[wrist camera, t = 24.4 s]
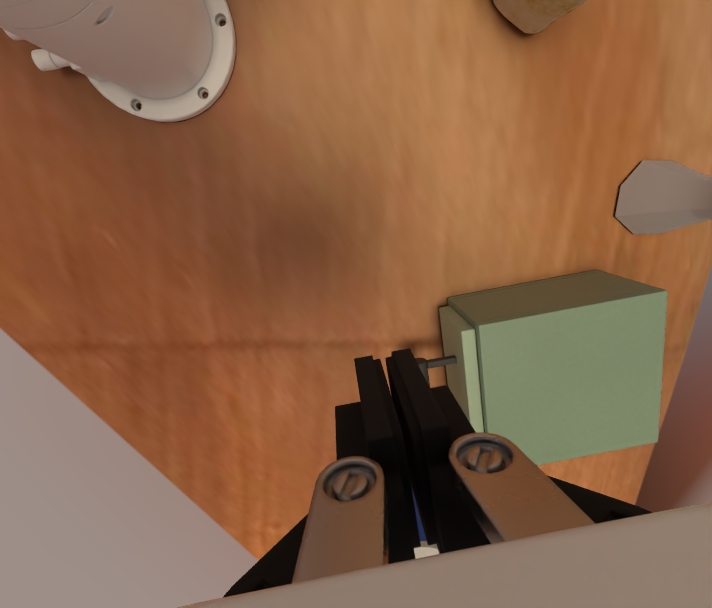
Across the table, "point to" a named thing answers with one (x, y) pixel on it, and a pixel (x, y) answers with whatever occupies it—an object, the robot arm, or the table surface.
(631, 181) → the flask
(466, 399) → the drawer
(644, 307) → the cabinet
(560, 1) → the food model
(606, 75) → the table surface
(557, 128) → the table surface
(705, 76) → the table surface
